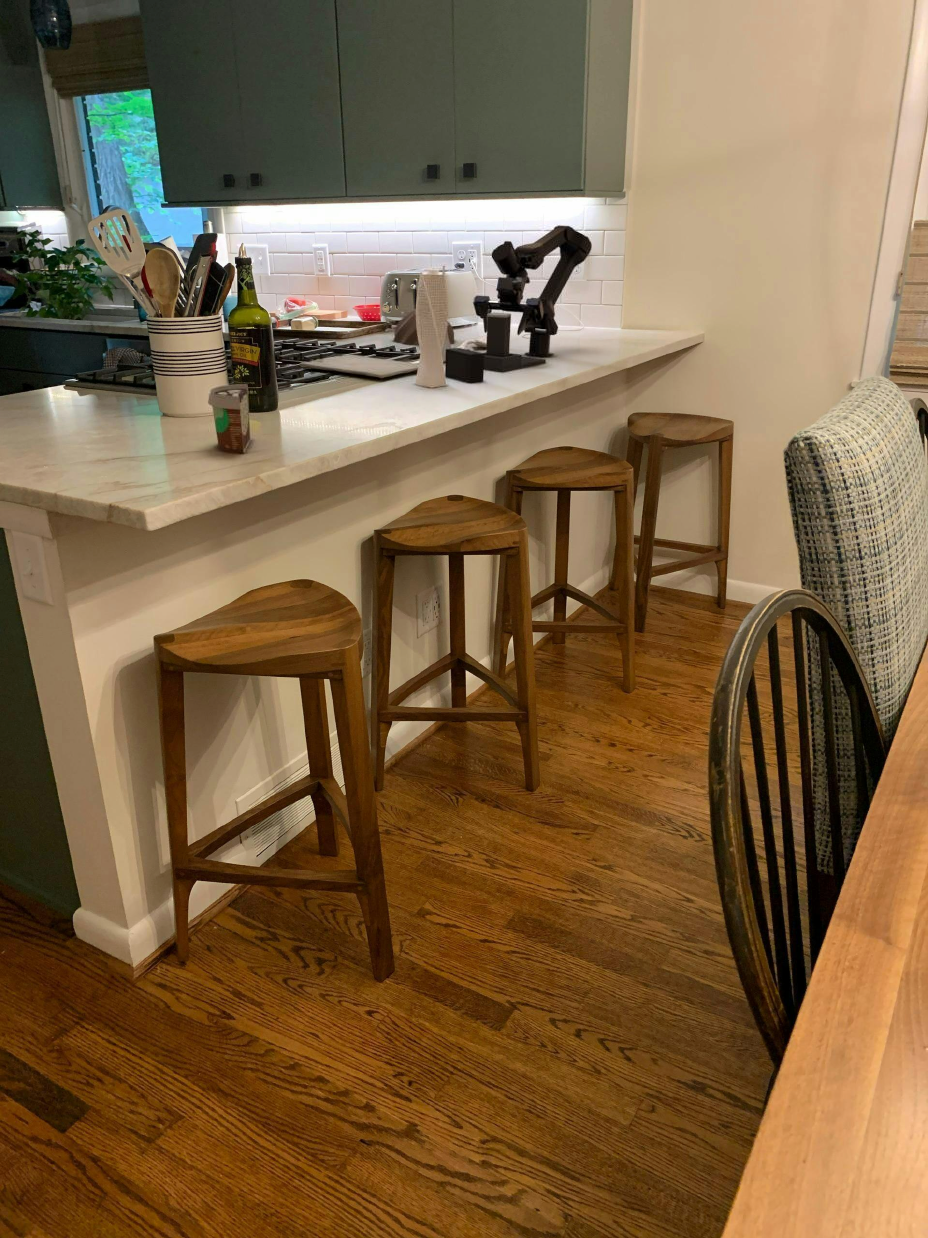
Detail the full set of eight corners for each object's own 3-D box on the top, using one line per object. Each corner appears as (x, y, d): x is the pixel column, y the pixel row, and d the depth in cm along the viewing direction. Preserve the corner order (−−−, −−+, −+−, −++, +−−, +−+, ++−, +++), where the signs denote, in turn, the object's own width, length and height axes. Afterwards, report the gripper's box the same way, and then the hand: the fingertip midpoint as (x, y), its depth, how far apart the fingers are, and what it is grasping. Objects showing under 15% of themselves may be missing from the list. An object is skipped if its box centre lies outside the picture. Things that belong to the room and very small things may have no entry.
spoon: (432, 356, 267) (432, 343, 266) (482, 343, 293) (482, 332, 292) (460, 359, 263) (460, 346, 262) (508, 346, 290) (508, 334, 288)
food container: (217, 438, 172) (213, 383, 168) (251, 438, 172) (247, 383, 168) (206, 455, 160) (201, 396, 156) (242, 455, 161) (238, 396, 157)
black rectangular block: (487, 381, 234) (488, 352, 231) (470, 383, 230) (471, 354, 228) (461, 374, 241) (462, 346, 238) (445, 376, 238) (445, 348, 235)
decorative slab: (297, 369, 240) (297, 361, 240) (348, 359, 257) (348, 352, 256) (384, 382, 228) (384, 373, 227) (431, 370, 245) (431, 363, 244)
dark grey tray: (498, 356, 271) (499, 343, 270) (545, 362, 263) (546, 350, 261) (453, 364, 255) (454, 351, 253) (502, 372, 246) (503, 358, 245)
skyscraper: (453, 385, 227) (456, 262, 215) (432, 389, 222) (434, 263, 210) (430, 380, 231) (432, 260, 220) (409, 384, 226) (409, 261, 215)
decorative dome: (380, 340, 294) (379, 306, 289) (422, 334, 307) (423, 303, 303) (425, 347, 282) (425, 313, 278) (467, 341, 296) (468, 308, 292)
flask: (456, 358, 264) (457, 322, 260) (453, 362, 258) (454, 325, 254) (431, 357, 265) (431, 321, 261) (427, 361, 258) (428, 324, 254)
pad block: (491, 361, 255) (493, 312, 250) (508, 363, 254) (511, 313, 248) (485, 364, 251) (487, 313, 246) (503, 365, 249) (505, 315, 244)
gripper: (476, 263, 251) (462, 310, 246) (543, 267, 246) (531, 315, 241) (483, 291, 261) (470, 337, 256) (548, 295, 256) (536, 342, 251)
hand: (501, 332), depth 251 cm, fingers open, 9 cm apart
